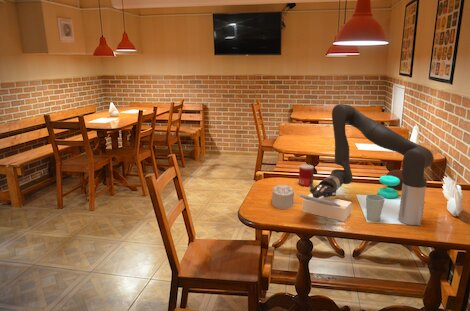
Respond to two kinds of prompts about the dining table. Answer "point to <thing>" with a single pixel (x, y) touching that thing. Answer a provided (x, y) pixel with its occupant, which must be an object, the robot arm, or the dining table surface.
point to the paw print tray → (282, 196)
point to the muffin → (397, 174)
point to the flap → (319, 200)
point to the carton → (328, 208)
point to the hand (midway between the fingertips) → (314, 196)
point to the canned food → (306, 175)
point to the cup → (374, 207)
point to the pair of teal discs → (389, 182)
